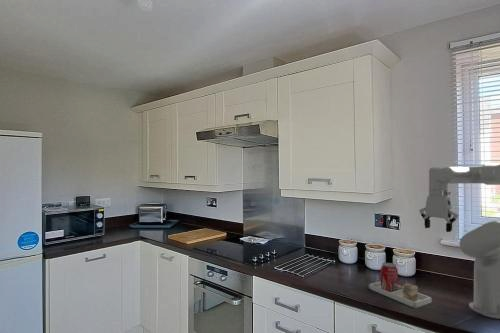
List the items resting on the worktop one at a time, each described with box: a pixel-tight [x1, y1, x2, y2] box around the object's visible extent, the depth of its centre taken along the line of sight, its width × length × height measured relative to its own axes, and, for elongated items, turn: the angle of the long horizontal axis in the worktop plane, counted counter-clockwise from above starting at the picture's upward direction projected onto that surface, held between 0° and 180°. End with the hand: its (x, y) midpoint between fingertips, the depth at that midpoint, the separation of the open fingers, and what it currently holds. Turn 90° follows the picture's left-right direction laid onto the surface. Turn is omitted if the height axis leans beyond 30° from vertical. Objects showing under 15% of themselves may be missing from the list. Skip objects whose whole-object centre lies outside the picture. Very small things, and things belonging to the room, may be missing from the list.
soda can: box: [380, 262, 399, 292], centre depth 138 cm, size 7×7×12 cm
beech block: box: [402, 283, 419, 302], centre depth 129 cm, size 4×4×6 cm
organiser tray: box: [368, 280, 433, 309], centre depth 133 cm, size 22×12×2 cm, turn 29°
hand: (437, 229), depth 141 cm, fingers open, 9 cm apart
